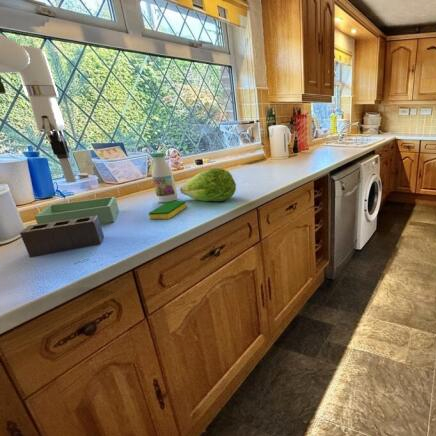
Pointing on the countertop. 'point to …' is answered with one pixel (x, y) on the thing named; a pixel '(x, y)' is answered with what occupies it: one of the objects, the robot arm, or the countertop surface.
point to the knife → (66, 165)
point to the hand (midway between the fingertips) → (61, 153)
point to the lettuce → (210, 185)
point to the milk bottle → (163, 179)
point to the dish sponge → (167, 210)
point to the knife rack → (62, 235)
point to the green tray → (80, 210)
